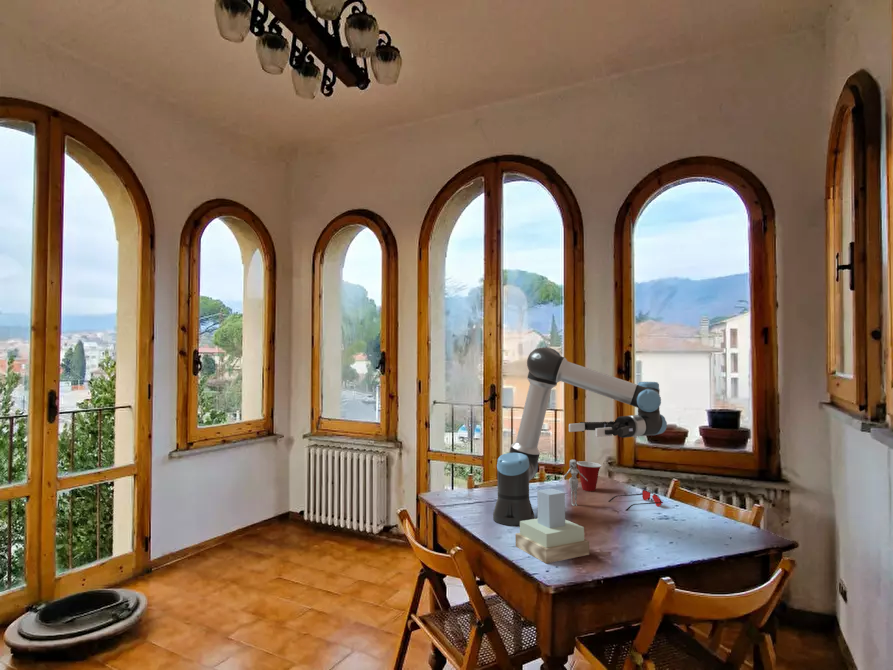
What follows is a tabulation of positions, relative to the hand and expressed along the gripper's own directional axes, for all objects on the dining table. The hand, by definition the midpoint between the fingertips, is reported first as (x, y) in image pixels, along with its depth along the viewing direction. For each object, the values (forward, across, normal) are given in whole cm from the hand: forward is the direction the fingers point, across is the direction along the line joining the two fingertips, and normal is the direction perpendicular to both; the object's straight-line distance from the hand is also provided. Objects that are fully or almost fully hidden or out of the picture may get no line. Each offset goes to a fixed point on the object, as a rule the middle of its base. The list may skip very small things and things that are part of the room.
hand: (582, 430), depth 183 cm
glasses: (-43, +20, -36) cm, 59 cm away
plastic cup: (-43, +47, -35) cm, 73 cm away
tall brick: (+19, -7, -27) cm, 34 cm away
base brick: (+19, -7, -35) cm, 40 cm away
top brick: (+19, -7, -31) cm, 37 cm away
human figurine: (-21, +31, -35) cm, 52 cm away
